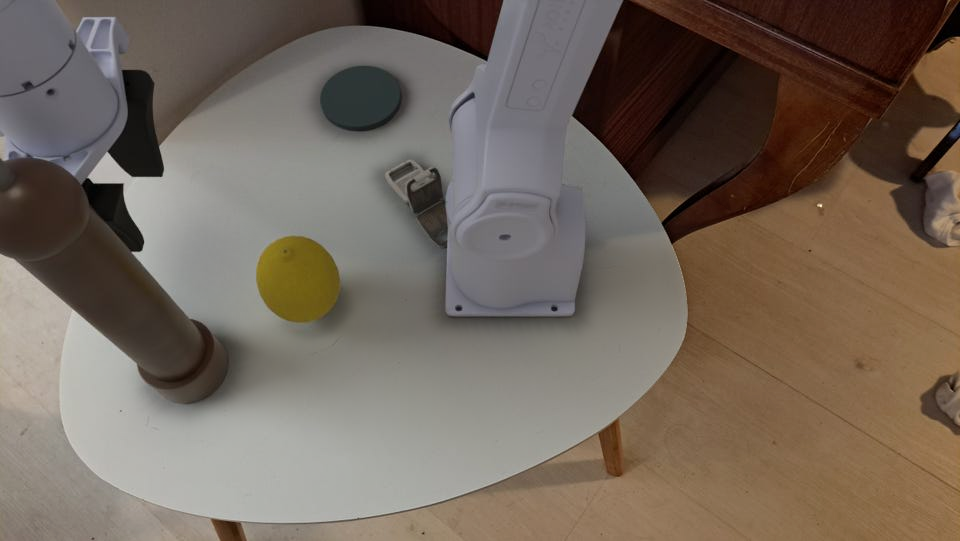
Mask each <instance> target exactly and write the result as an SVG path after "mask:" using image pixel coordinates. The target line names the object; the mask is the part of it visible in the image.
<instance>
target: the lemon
mask: <svg viewBox="0 0 960 541" xmlns="http://www.w3.org/2000/svg"><path fill="white" fill-rule="evenodd" d="M255 270H256V271H255V272H256V273H255V282H256V286H257V290H258V294H259V296H260V298H261V299H262V301H263V303H264V304H265V306H266V307H267V309H269V311H271V312H272V313H273V314H274V315H275V316H277V317H278V318H281V319H283V320H285V321H286V322H291V323H296V324H305V323H307V324H308V323H310V322H314V321H317V320H319V319H320V318H322V317H324V316H325V315H327V313H329V312H330V311H331V310H332V309H333V307H334V305H335V304H336V302H337V300H338V298H339V295H340V288H341V278H340V273H339V268H338V266H337V264H336V261H335V260H334V258H333V256H332V255H331V254H330V252H329V251H328V250H327V249H326V248H325V247H324V246H323V245H322V244H321V243H319V242H318V241H315V240H313V239H312V238H310V237H307V236H304V235H289V236H283V237H281V238H278V239H275V240H274V241H272V242H271V243H270V244H269V245H268V246H267V247H266V248H265V249H264V250H263V251H262V253H261V254H260V256H259V258H258V261H257V264H256V269H255Z"/></svg>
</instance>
